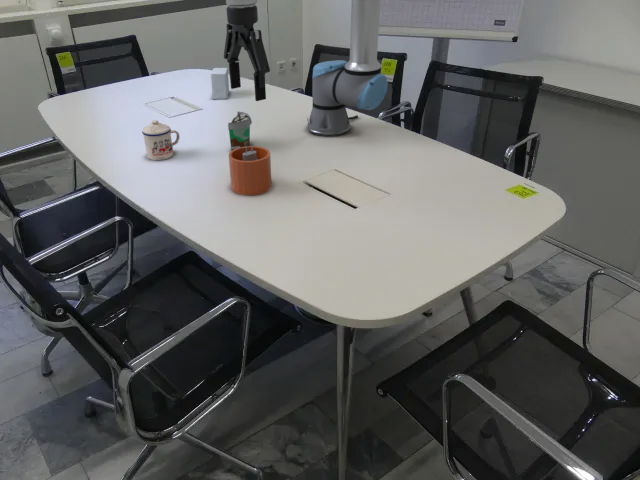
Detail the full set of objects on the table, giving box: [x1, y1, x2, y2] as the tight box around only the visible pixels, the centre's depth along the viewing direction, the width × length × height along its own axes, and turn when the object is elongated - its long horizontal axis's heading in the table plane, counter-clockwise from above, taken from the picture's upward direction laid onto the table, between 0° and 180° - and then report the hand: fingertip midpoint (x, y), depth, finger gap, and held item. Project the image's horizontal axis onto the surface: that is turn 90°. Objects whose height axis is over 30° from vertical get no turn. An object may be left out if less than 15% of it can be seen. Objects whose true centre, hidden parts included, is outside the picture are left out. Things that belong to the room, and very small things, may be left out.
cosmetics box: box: [210, 67, 230, 100], centre depth 228 cm, size 10×6×10 cm, turn 179°
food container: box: [227, 111, 253, 152], centre depth 179 cm, size 12×6×10 cm, turn 168°
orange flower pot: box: [228, 145, 272, 196], centre depth 152 cm, size 12×12×10 cm
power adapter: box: [243, 143, 259, 161], centre depth 152 cm, size 3×5×12 cm, turn 125°
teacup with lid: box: [141, 119, 181, 161], centre depth 174 cm, size 12×9×12 cm
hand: (247, 93), depth 142 cm, fingers open, 13 cm apart
